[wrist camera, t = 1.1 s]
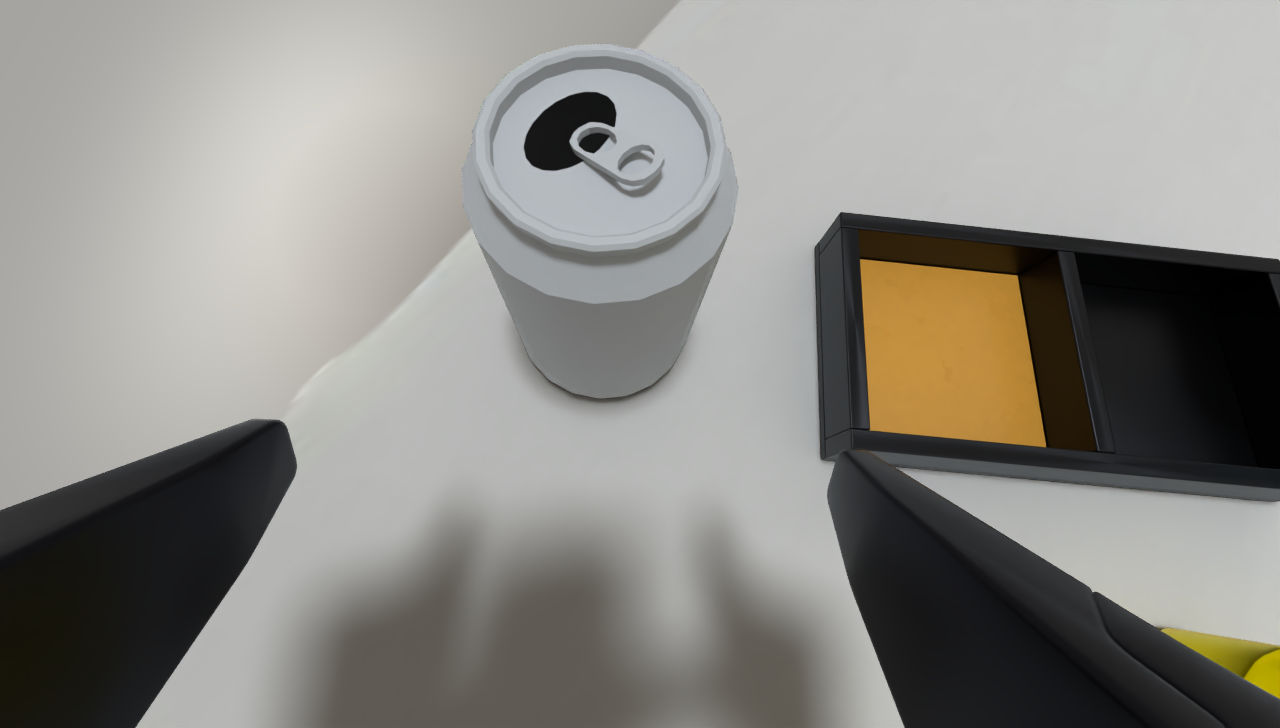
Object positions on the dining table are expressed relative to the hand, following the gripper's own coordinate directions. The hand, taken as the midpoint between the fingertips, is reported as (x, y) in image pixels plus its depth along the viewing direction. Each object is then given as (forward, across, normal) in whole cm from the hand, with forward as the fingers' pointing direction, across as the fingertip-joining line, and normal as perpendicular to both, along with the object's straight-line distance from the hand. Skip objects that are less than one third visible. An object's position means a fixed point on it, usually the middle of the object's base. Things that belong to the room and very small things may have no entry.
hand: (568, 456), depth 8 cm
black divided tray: (+15, -20, +4) cm, 25 cm away
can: (+15, 0, +4) cm, 16 cm away
